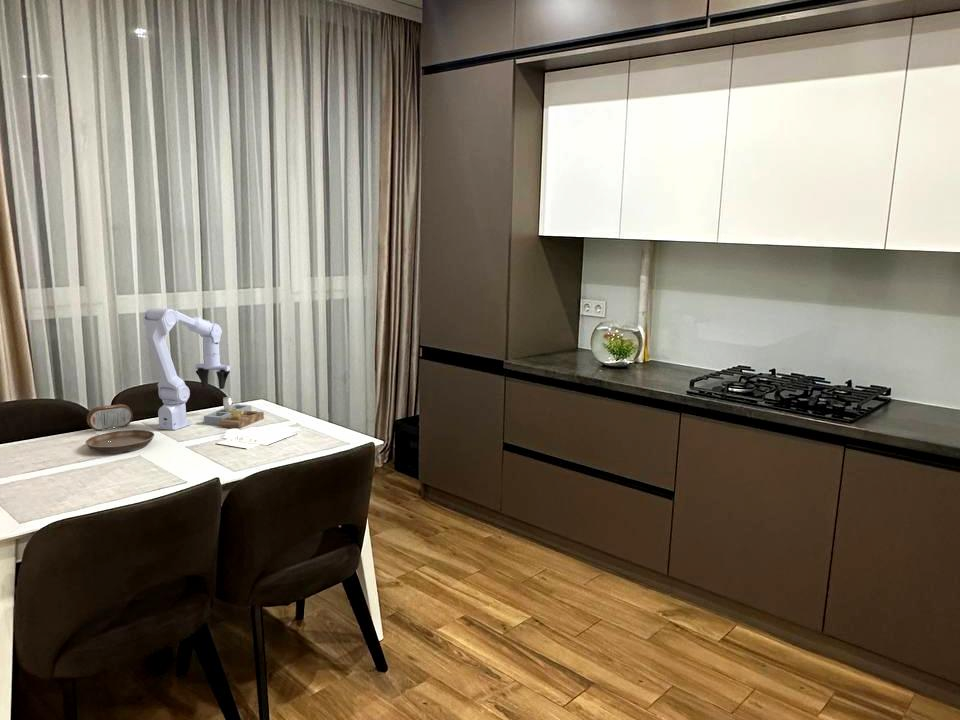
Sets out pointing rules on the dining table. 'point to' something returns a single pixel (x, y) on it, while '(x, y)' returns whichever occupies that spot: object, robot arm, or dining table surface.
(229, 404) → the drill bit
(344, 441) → the dining table surface
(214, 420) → the rack
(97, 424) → the tin
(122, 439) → the plant saucer
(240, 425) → the drill block
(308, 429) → the dining table surface
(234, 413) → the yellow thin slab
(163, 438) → the dining table surface
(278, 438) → the white book
